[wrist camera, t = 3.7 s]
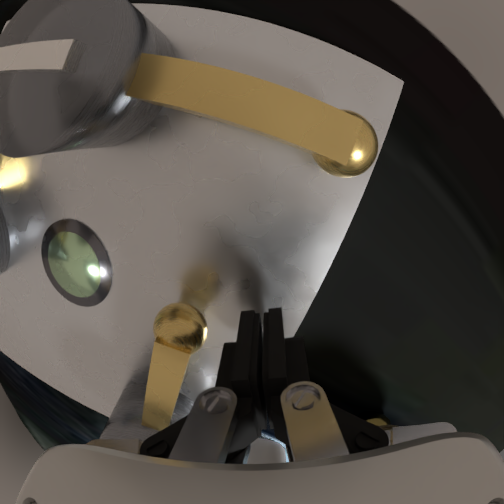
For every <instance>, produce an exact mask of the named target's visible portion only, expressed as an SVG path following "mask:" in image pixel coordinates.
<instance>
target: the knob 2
mask: <svg viewBox="0 0 504 504" xmlns="http://www.w3.org/2000/svg"><path fill="white" fill-rule="evenodd" d="M153 333H154V337H155V341H154V346H153V352H152V357H151V363H150V369H149V375H148V381H147V383H135V384H131V385H129V386H127V387H126V388H125V389H124V390H123V392H122V393H121V395H120V397H119V399H118V401H117V403H116V405H115V407H114V409H113V411H112V413H111V416H110V418H109V420H108V422H107V424H106V426H105V428H104V430H103V432H102V434H101V436H100V438H99V439H139V440H140V441H145V440H146V439H147V438H149V437H150V436H152V435H154V434H156V433H157V432H159V431H161V430H163V429H164V428H166V427H168V426H170V425H171V424H173V423H175V422H177V421H178V420H180V419H182V418H183V417H185V416H187V415H188V414H189V412H190V410H191V408H192V406H193V404H194V402H193V401H192V400H191V399H189V398H188V397H186V396H185V395H183V394H181V393H179V392H180V389H181V386H182V382H183V379H184V376H185V373H186V369H187V366H188V363H189V360H190V357H191V355H192V354H194V353H196V352H197V351H198V350H199V349H200V348H201V347H202V346H203V345H204V343H205V341H206V338H207V333H208V328H207V323H206V320H205V318H204V316H203V314H202V313H201V312H200V311H199V310H198V309H197V308H196V307H194V306H192V305H190V304H188V303H183V302H176V303H171V304H169V305H167V306H165V307H163V308H162V309H161V310H160V311H159V312H158V314H157V315H156V317H155V320H154V324H153Z"/></svg>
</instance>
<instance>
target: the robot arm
mask: <svg viewBox="0 0 504 504" xmlns="http://www.w3.org/2000/svg"><path fill="white" fill-rule="evenodd" d="M267 412H268V417H269V423H270V428H271V429H274V432H275V437H276V438H277V439H279V440H280V441H281V442H283V443H284V444H286V450H287V454H288V459H289V462H286V463H268V464H247V461H248V457H249V453H250V449H251V443H252V442H254V441H255V440H256V439H257V438H258V437H261V429H266V428H267ZM15 504H504V461H503V459H502V457H501V455H500V454H499V452H498V451H497V449H496V448H495V446H494V445H493V444H492V443H491V442H490V441H489V440H488V439H487V438H486V437H484V436H483V435H480V434H477V433H470V432H457V431H456V428H455V427H454V426H453V425H451V424H449V423H445V422H439V423H432V424H424V425H415V426H404V427H393V428H392V430H383V429H382V428H380V427H378V426H376V425H374V424H372V423H370V422H367V421H365V420H363V419H361V418H359V417H357V416H355V415H353V414H351V413H349V412H347V411H345V410H343V409H341V408H339V407H337V406H335V405H333V404H331V403H329V402H328V399H327V397H326V394H325V392H324V390H323V389H322V387H320V386H319V385H318V384H315V383H313V382H310V377H309V370H308V364H307V357H306V351H305V345H304V339H303V336H299V337H290V338H285V337H284V327H283V317H282V307H279V308H269V309H268V312H264V316H263V331H262V324H261V317H260V313H255V310H247V311H241V314H240V320H239V327H238V333H237V340H236V342H227V343H224V345H223V350H222V355H221V359H220V364H219V369H218V374H217V379H216V384H215V387H212V388H208V389H206V390H204V391H203V392H201V393H200V394H199V395H198V396H197V398H196V399H195V402H194V404H193V406H192V408H191V410H190V412H189V414H188V415H187V416H185V417H183V418H182V419H180V420H178V421H177V422H175V423H173V424H171V425H170V426H168V427H166V428H164V429H163V430H161V431H159V432H157V433H156V434H154V435H152V436H150V437H149V438H147V439H146V440H145V441H140V440H139V439H96V440H92V441H90V442H88V443H87V444H86V445H84V444H67V445H59V446H54V447H51V448H49V449H47V450H46V451H45V452H44V453H43V454H42V455H41V456H40V457H39V459H38V460H37V461H36V463H35V464H34V466H33V468H32V469H31V471H30V473H29V474H28V477H27V478H26V481H25V482H24V484H23V486H22V488H21V490H20V493H19V495H18V497H17V500H16V502H15Z"/></svg>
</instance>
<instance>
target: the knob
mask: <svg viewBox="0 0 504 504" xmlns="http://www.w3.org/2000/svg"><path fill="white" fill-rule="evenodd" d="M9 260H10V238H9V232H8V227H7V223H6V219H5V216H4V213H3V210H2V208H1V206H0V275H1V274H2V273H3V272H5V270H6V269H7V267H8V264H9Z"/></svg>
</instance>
